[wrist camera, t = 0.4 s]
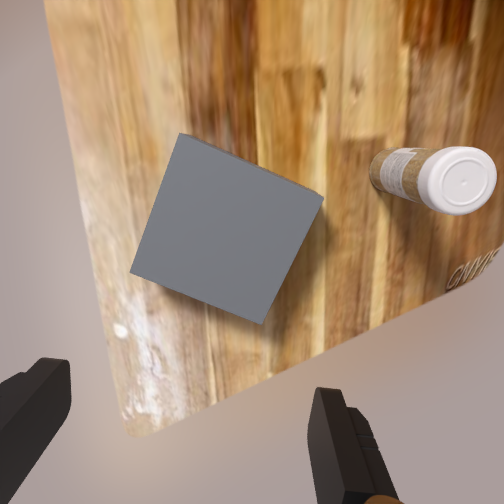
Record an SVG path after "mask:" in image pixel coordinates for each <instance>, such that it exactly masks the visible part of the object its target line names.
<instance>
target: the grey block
mask: <svg viewBox="0 0 504 504" xmlns="http://www.w3.org/2000/svg"><path fill="white" fill-rule="evenodd" d="M323 200H324V197H322V196H321V195H319V194H318V193H317V192H315V191H313V190H311V189H309V188H306V187H304V186H302V185H300V184H298V183H295V182H293V181H291V180H289V179H287V178H284V177H282V176H280V175H278V174H275V173H273V172H271V171H269V170H267V169H264V168H262V167H260V166H258V165H256V164H253V163H251V162H249V161H247V160H244V159H242V158H240V157H238V156H236V155H233V154H231V153H229V152H227V151H224V150H222V149H220V148H218V147H216V146H213V145H211V144H209V143H207V142H205V141H202V140H200V139H198V138H196V137H193V136H191V135H188V134H183V133H179V136H178V139H177V141H176V144H175V147H174V150H173V152H172V155H171V158H170V161H169V164H168V166H167V169H166V172H165V175H164V178H163V180H162V183H161V186H160V189H159V191H158V194H157V197H156V200H155V203H154V205H153V208H152V211H151V214H150V217H149V219H148V222H147V225H146V228H145V231H144V233H143V236H142V239H141V242H140V244H139V247H138V250H137V253H136V256H135V258H134V261H133V264H132V267H131V270H130V272H129V273H132V274H134V275H137V276H139V277H142V278H144V279H147V280H149V281H152V282H154V283H157V284H159V285H162V286H164V287H167V288H169V289H172V290H175V291H177V292H180V293H182V294H185V295H187V296H190V297H192V298H195V299H197V300H200V301H202V302H205V303H207V304H210V305H212V306H215V307H217V308H220V309H222V310H225V311H227V312H230V313H232V314H235V315H237V316H240V317H242V318H245V319H247V320H250V321H252V322H255V323H257V324H260V325H262V323H263V321H264V319H265V317H266V315H267V313H268V311H269V309H270V307H271V305H272V303H273V301H274V299H275V297H276V295H277V293H278V291H279V289H280V287H281V285H282V283H283V281H284V279H285V277H286V275H287V273H288V271H289V268H290V266H291V264H292V262H293V260H294V258H295V256H296V254H297V252H298V250H299V248H300V246H301V244H302V242H303V240H304V238H305V236H306V234H307V232H308V230H309V228H310V226H311V224H312V222H313V220H314V218H315V216H316V214H317V212H318V210H319V208H320V206H321V204H322V202H323Z"/></svg>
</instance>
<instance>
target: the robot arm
mask: <svg viewBox="0 0 504 504" xmlns="http://www.w3.org/2000/svg"><path fill="white" fill-rule="evenodd" d="M70 406H71V380H70V364H69V361H67V360H63V359H53V358H41V359H39V360H38V361H37V362H36V363H35V364H34V365H33V366H32V367H31V368H30V369H29V370H28V371H27V372H26V373H24V372H20V373H18V374H16V375H14V376H12V377H11V378H9V379H7V380H5V381H3V382H2V383H1V384H0V504H8V503H9V501H10V500H11V498H12V497H13V495H14V494H15V493H16V491H17V489H18V488H19V486H20V485H21V484H22V482H23V481H24V479H25V478H26V477H27V475H28V473H29V472H30V471H31V469H32V468H33V466H34V465H35V463H36V462H37V461H38V459H39V458H40V456H41V455H42V453H43V452H44V450H45V449H46V447H47V446H48V445H49V443H50V442H51V440H52V439H53V437H54V436H55V434H56V433H57V431H58V430H59V428H60V427H61V426H62V424H63V423H64V421H65V420H66V418H67V415H68V413H69V410H70ZM307 435H308V436H307V439H308V448H309V455H310V461H311V467H312V473H313V479H314V485H315V491H316V496H317V503H318V504H404V503H402V502H400V501H399V498H398V496H397V493H396V491H395V488H394V486H393V483H392V481H391V478H390V476H389V473H388V471H387V468H386V465H385V463H384V460H383V458H382V456H381V453H380V451H379V450H378V445H377V443H376V440H375V439H374V436H373V433H372V430H371V428H370V425H369V423H368V421H367V420H366V418H365V417H364V416H363V415H362V414H361V413H360V411H359V410H358V409H357V408H352V407H347V406H346V403H345V401H344V398H343V395H342V392H341V390H340V389H331V388H322V387H317V388H316V390H315V394H314V399H313V404H312V409H311V414H310V419H309V424H308V434H307Z"/></svg>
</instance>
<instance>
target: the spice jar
mask: <svg viewBox="0 0 504 504" xmlns="http://www.w3.org/2000/svg"><path fill="white" fill-rule="evenodd" d="M369 176H370V179H371V182H372V184H373V185H374V186H375V187H376V188H377V189H379V190H381V191H383V192H387V193H391V194H393V195H396V196H399V197H402V198H405V199H408V200H411V201H414V202H417V203H421V204H425V205H427V206H428V207H429V208H431V209H433V210H435V211H438V212H441V213H444V214H448V215H464V214H468V213H471V212H473V211H475V210H477V209H478V208H480V207H481V206H482V205H483V204H484V203H485V202H486V201H487V200H488V199H489V198H490V196H491V194H492V193H493V190H494V188H495V185H496V180H497V172H496V167H495V164H494V162H493V161H492V159H491V158H490V157H489V155H487V154H486V153H485V152H483V151H482V150H480V149H477V148H473V147H448V148H445V149H424V148H402V149H401V148H395V147H392V148H388V149H385V150H383V151H381V152H380V153H379V154H377V155H376V156H375V157H374V159H373V161H372V163H371V165H370V169H369Z"/></svg>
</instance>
